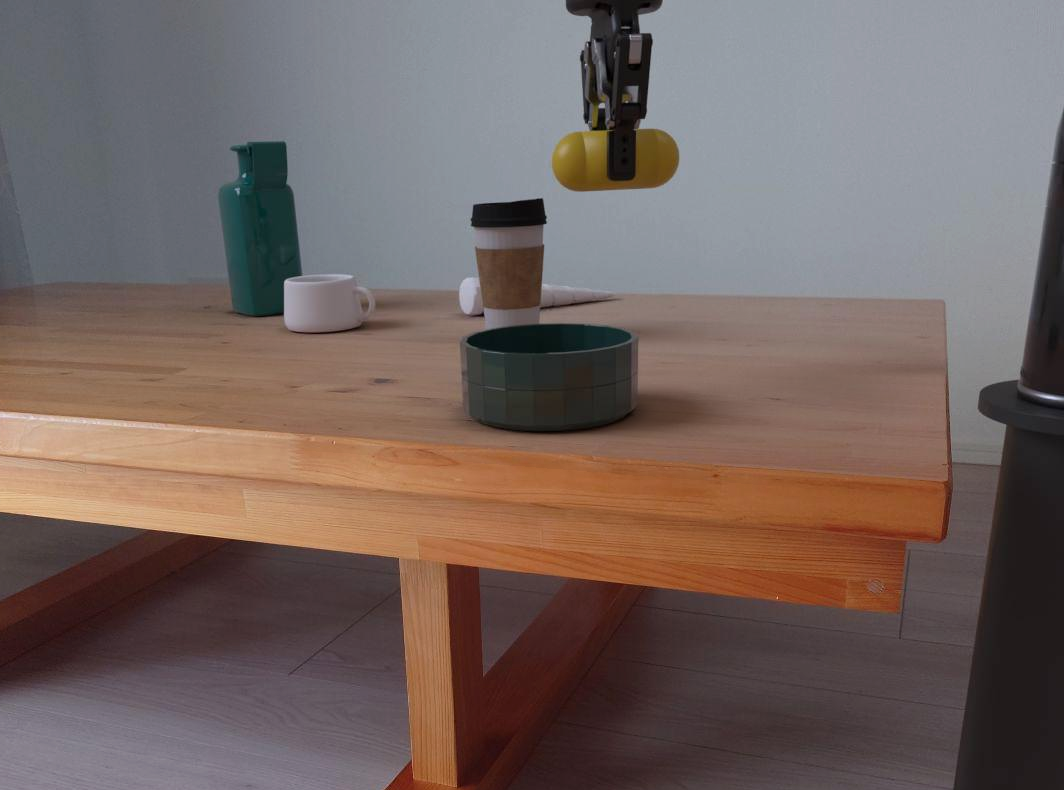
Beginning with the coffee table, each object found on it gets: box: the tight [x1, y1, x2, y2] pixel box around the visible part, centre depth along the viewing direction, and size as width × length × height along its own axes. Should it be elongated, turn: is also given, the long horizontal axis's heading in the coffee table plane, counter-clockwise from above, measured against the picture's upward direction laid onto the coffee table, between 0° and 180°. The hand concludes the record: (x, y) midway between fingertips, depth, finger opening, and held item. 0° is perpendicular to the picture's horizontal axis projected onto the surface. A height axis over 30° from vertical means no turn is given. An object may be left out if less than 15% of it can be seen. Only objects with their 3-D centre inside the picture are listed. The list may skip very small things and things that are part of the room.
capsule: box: [551, 128, 680, 193], centre depth 82 cm, size 11×5×5 cm
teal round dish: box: [459, 322, 639, 432], centre depth 81 cm, size 14×14×6 cm
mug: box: [283, 273, 376, 334], centre depth 124 cm, size 12×10×6 cm
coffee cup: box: [470, 197, 548, 330], centre depth 112 cm, size 8×8×15 cm
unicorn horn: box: [458, 276, 617, 317], centre depth 135 cm, size 5×24×5 cm, turn 116°
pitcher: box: [217, 140, 303, 317], centre depth 136 cm, size 10×8×22 cm
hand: (613, 178), depth 83 cm, fingers closed on capsule, 4 cm apart
